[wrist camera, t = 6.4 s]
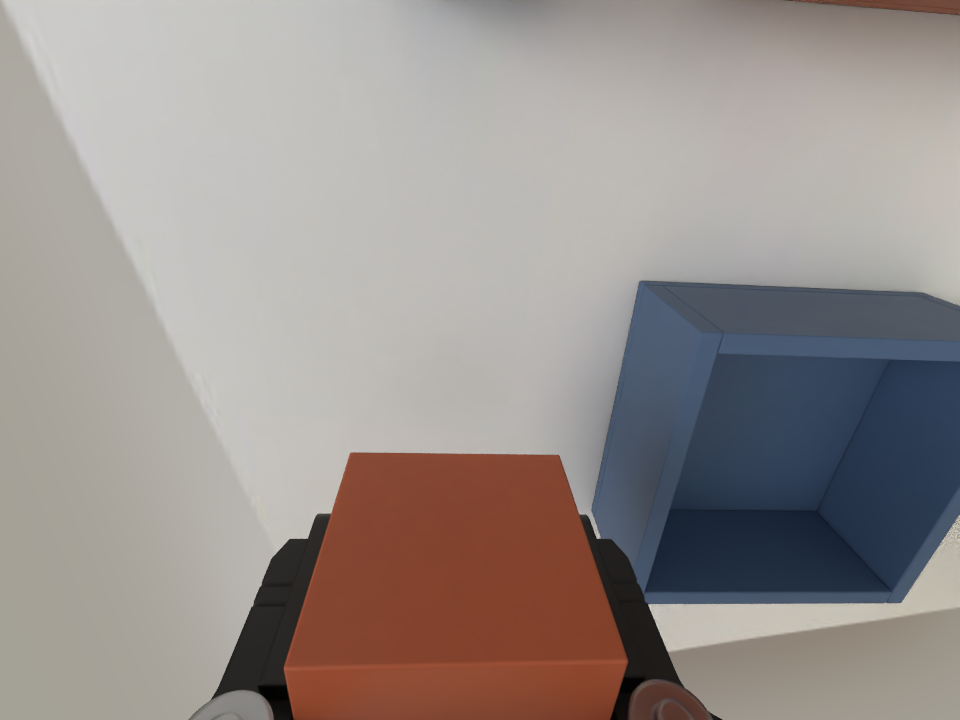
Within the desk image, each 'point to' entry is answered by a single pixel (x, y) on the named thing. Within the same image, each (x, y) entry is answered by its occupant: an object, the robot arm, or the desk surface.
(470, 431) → the desk surface
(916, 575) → the slate bin
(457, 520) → the terracotta block
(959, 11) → the terracotta bin
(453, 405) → the desk surface
